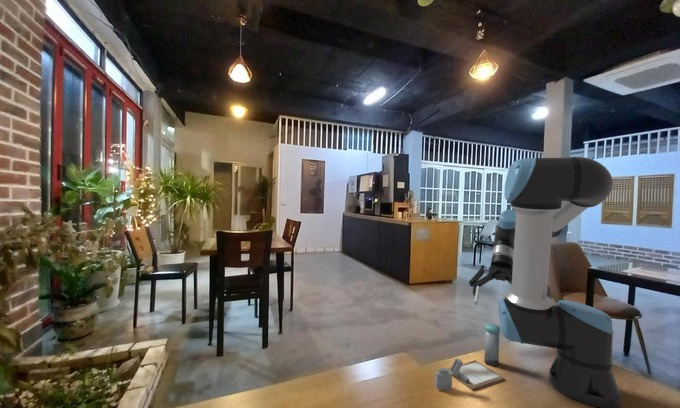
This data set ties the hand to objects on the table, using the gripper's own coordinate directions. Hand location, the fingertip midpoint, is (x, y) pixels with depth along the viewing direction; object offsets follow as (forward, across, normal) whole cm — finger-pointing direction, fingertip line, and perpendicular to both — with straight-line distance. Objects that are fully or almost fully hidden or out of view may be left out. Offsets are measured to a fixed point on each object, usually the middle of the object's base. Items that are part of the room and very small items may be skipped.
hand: (496, 307), depth 100 cm
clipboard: (+26, +3, +5) cm, 26 cm away
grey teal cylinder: (+18, 0, -3) cm, 18 cm away
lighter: (+34, +8, +12) cm, 37 cm away
